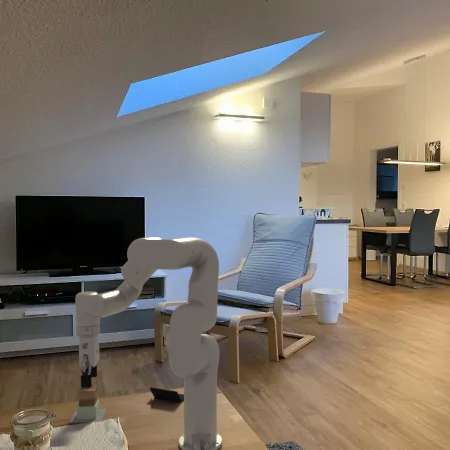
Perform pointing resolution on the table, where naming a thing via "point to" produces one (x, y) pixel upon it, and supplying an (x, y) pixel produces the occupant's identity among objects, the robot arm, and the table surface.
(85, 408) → the sage base block
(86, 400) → the walnut cube
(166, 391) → the handheld gaming console
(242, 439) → the table surface
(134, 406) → the table surface
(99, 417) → the board
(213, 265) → the robot arm
